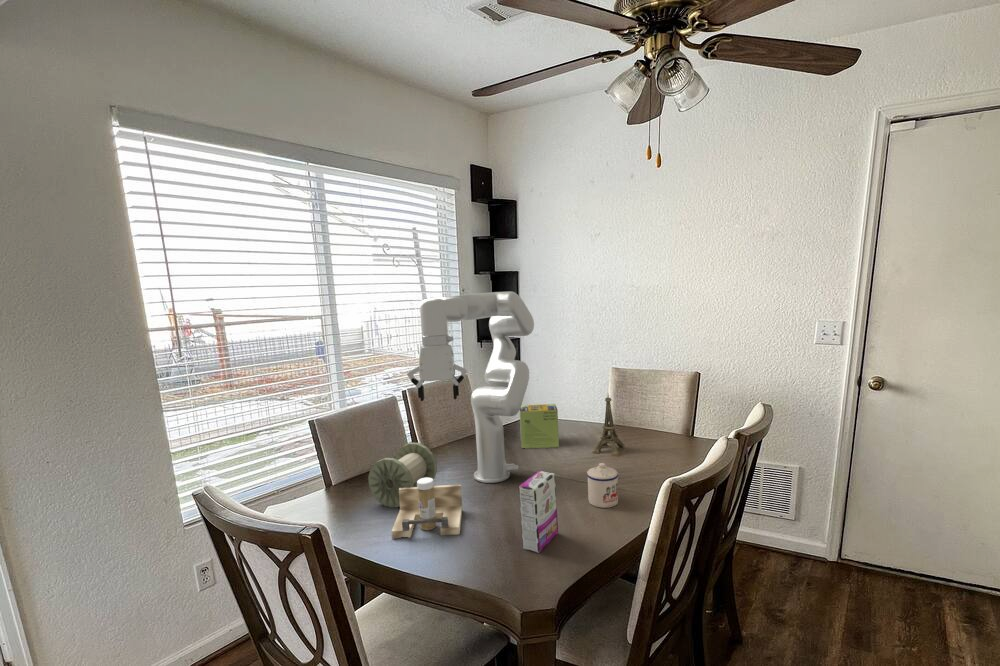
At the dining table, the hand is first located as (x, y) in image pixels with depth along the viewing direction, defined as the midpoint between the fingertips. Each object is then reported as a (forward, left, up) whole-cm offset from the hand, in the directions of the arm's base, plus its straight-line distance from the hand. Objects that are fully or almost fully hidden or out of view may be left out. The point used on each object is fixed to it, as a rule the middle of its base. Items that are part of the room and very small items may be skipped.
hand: (439, 399), depth 142 cm
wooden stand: (+4, +9, -33) cm, 35 cm away
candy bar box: (-26, +22, -34) cm, 48 cm away
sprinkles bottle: (+4, +11, -34) cm, 35 cm away
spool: (+14, -11, -34) cm, 38 cm away
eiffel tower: (-60, -42, -34) cm, 81 cm away
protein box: (-34, -55, -34) cm, 73 cm away
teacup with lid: (-48, +1, -34) cm, 59 cm away
